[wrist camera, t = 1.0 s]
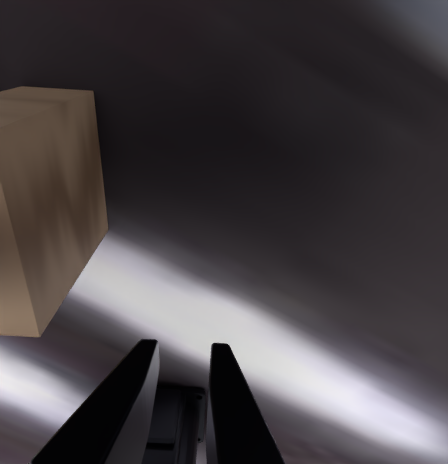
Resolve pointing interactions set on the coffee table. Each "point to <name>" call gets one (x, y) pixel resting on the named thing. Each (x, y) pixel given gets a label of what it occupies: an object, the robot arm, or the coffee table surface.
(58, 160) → the brown wooden block
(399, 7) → the coffee table surface
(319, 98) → the coffee table surface
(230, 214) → the coffee table surface
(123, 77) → the coffee table surface
